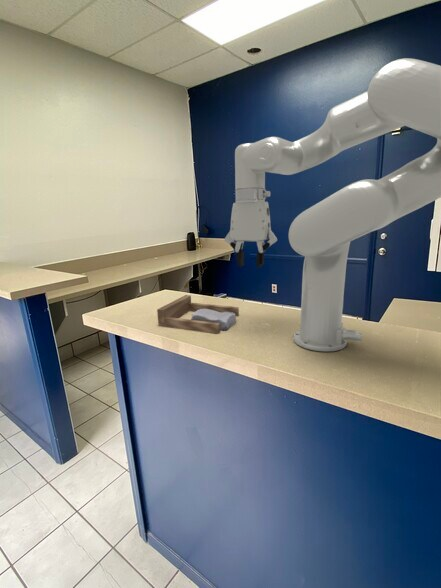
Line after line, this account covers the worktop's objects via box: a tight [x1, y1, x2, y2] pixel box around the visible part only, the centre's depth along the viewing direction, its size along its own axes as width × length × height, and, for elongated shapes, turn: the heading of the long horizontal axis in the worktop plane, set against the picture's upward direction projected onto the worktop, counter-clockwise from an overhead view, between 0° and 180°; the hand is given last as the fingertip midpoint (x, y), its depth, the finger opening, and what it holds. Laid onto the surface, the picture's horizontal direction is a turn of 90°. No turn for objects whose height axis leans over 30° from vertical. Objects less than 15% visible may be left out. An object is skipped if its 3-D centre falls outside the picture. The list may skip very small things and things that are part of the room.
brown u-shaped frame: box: [156, 294, 240, 334], centre depth 94 cm, size 19×17×5 cm
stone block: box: [190, 309, 237, 331], centre depth 92 cm, size 12×5×10 cm
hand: (250, 266), depth 84 cm, fingers open, 4 cm apart
